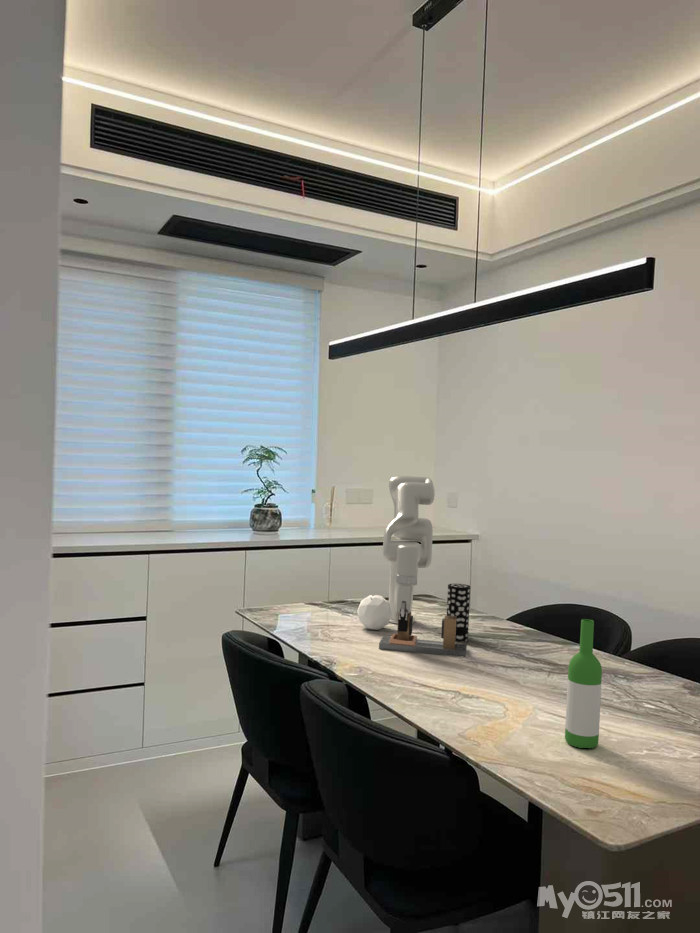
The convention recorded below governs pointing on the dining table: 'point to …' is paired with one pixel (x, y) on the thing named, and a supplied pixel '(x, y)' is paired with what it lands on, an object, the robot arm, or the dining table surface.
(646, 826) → the dining table surface
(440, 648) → the rail
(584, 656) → the wine bottle
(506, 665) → the dining table surface
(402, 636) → the gripped brown wooden block
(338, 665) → the dining table surface
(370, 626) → the geodesic sphere
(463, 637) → the white-spotted black cylinder
